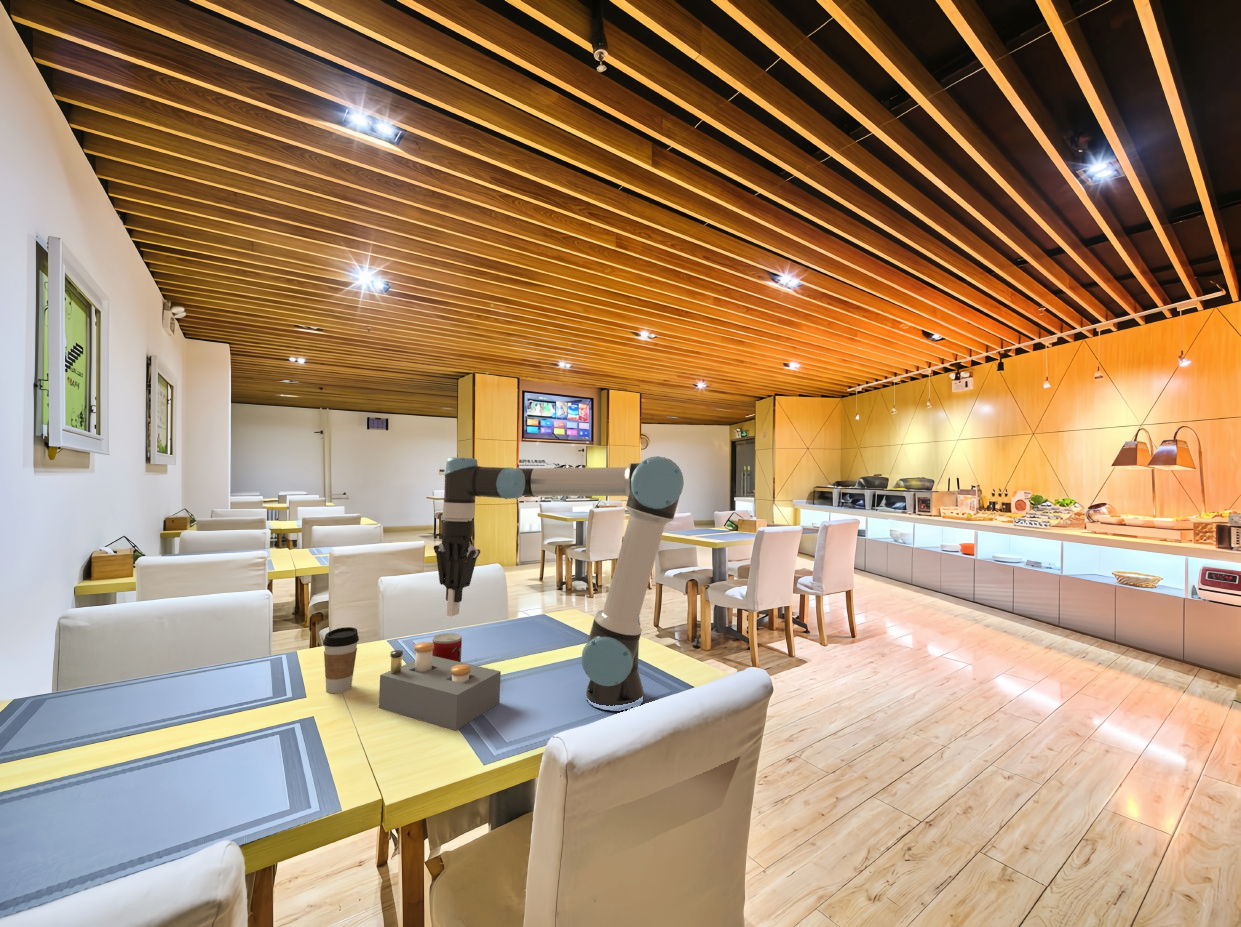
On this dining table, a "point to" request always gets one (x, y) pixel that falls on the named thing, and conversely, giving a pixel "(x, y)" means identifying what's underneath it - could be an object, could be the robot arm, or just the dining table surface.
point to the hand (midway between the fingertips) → (452, 614)
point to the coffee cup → (340, 658)
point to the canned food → (447, 646)
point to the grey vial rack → (440, 693)
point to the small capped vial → (396, 661)
